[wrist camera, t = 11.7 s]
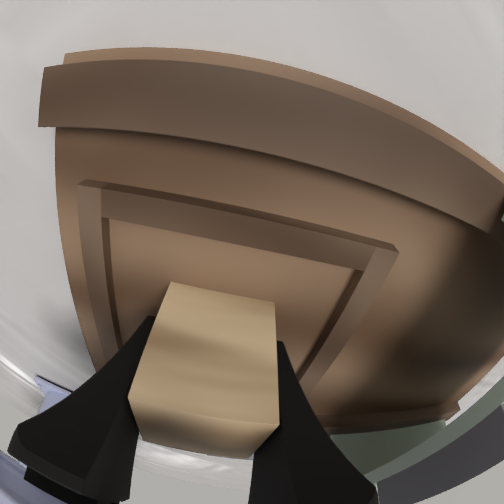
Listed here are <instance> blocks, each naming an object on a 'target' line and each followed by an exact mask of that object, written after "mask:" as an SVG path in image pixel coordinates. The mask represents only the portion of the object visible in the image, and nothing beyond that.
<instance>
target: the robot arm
mask: <svg viewBox="0 0 504 504" xmlns="http://www.w3.org/2000/svg"><path fill="white" fill-rule="evenodd" d="M155 320H156V317H155V316H151V315H149V316H147V317H146V318H145V319H144V321H143V322H142V323H141V325H140V326H139V327H138V328H137V330H136V331H135V332H134V333H133V334H132V336H131V337H130V338H129V339H128V340H127V342H126V343H125V344H124V345H123V346H122V347H121V348H120V349H119V350H118V352H117V353H116V354H115V355H114V356H113V357H112V358H111V359H110V360H109V361H108V362H107V363H106V364H105V365H104V366H103V367H102V368H101V369H100V370H99V371H98V372H96V373H95V374H94V375H93V376H92V377H91V378H90V379H89V380H87V381H86V382H85V383H84V384H83V385H81V386H80V387H79V388H78V389H76V390H75V391H74V392H72V393H71V392H69V391H67V390H64V389H62V388H60V387H58V386H56V385H54V384H51V383H49V382H47V381H45V380H43V379H41V378H39V377H37V376H35V378H34V380H35V382H36V383H37V385H38V386H39V387H40V389H41V390H42V392H43V393H44V394H45V398H44V400H43V402H42V404H41V407H40V409H39V411H38V414H37V415H36V416H34V417H32V418H30V419H28V420H26V421H24V422H22V423H20V424H18V426H17V428H16V430H15V431H14V434H13V436H12V439H11V441H10V444H9V447H8V450H7V451H8V453H9V454H10V455H11V456H13V457H14V458H16V459H17V460H18V462H17V461H16V460H15V459H13V458H11V457H10V456H8V455H7V454H5V453H4V452H3V451H1V450H0V504H119V502H120V501H121V502H122V501H125V500H127V499H129V497H130V486H131V477H132V470H133V463H134V457H135V451H136V446H137V440H138V435H139V428H138V426H137V423H136V420H135V417H134V414H133V411H132V409H131V406H130V402H129V399H128V395H129V392H130V389H131V386H132V383H133V380H134V377H135V374H136V371H137V368H138V365H139V362H140V360H141V357H142V354H143V351H144V349H145V346H146V343H147V340H148V338H149V335H150V333H151V330H152V327H153V325H154V322H155ZM276 343H277V367H278V395H279V426H278V427H277V428H276V429H275V430H274V431H273V432H272V434H271V435H270V436H269V437H268V438H267V439H266V440H265V441H264V442H263V444H262V445H261V446H260V447H259V448H258V449H257V450H256V451H255V452H254V458H253V468H252V478H251V486H250V495H249V501H248V504H379V501H378V493H377V490H376V486H375V485H374V484H372V483H371V482H370V481H369V480H368V479H367V478H366V477H365V476H364V475H362V474H361V473H360V472H359V471H358V470H357V469H356V468H355V467H354V466H353V464H352V463H351V462H350V461H349V460H348V459H347V458H346V457H345V455H344V454H343V453H342V452H341V451H340V449H339V448H338V447H337V446H336V444H335V443H334V442H333V441H332V439H331V438H330V436H329V435H328V434H327V432H326V431H325V429H324V428H323V426H322V424H321V423H320V421H319V420H318V418H317V416H316V415H315V413H314V411H313V409H312V408H311V406H310V404H309V402H308V400H307V398H306V396H305V394H304V392H303V390H302V388H301V385H300V383H299V381H298V379H297V377H296V374H295V372H294V369H293V367H292V364H291V362H290V359H289V356H288V354H287V351H286V348H285V345H284V343H283V341H277V340H276Z"/></svg>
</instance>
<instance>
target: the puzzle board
mask: <svg viewBox="0 0 504 504" xmlns="http://www.w3.org/2000/svg"><path fill="white" fill-rule="evenodd" d="M38 127H56V136H55V176H56V195H57V208H58V218H59V226H60V234H61V241H62V247H63V254H64V259H65V265H66V270H67V275H68V279H69V284H70V288H71V293H72V297H73V301H74V305H75V308H76V312H77V316H78V319H79V323H80V326H81V329H82V333H83V336H84V339H85V342H86V345H87V348H88V351H89V354H90V356H91V359H92V362H93V365H94V367H95V370H96V372H98V371H99V370H100V369H101V368H102V367H103V366H104V365H105V364H106V363H107V362H108V361H109V360H110V359H111V358H112V357H113V356H114V355H115V354H116V353H117V352H118V350H119V349H120V348H121V347H122V346H123V345H124V344H125V343H126V342H127V340H128V339H129V338H130V337H131V336H132V334H133V333H134V332H135V331H136V330H137V328H138V327H139V326H140V325H141V323H142V322H143V321H144V319H145V318H146V317H147V316H149V315H151V316H155V317H157V314H158V312H159V309H160V307H161V304H162V302H163V299H164V297H165V295H166V292H167V290H168V287H169V285H170V282H175V283H179V284H184V285H188V286H193V287H198V288H202V289H207V290H212V291H217V292H222V293H227V294H232V295H237V296H242V297H248V298H253V299H258V300H264V301H269V302H275V322H276V340H277V341H283V343H284V345H285V348H286V351H287V354H288V356H289V359H290V362H291V364H292V367H293V369H294V372H295V374H296V377H297V379H298V381H299V383H300V385H301V388H302V390H303V392H304V394H305V396H306V398H307V400H308V402H309V404H310V406H311V408H312V409H313V411H314V413H315V415H316V416H317V418H318V420H319V421H320V423H321V424H322V426H323V428H324V429H325V431H326V432H327V434H328V435H329V436H331V435H340V434H356V433H368V432H377V431H385V430H392V429H399V428H405V427H411V426H417V425H422V424H427V423H431V422H436V421H440V420H445V421H447V420H448V419H450V418H451V417H452V416H453V415H455V414H456V413H457V412H458V411H460V407H459V405H458V401H459V400H460V399H461V398H462V397H463V396H464V395H465V394H467V393H468V392H469V391H470V390H471V389H472V388H473V387H474V386H475V385H476V384H477V383H478V382H479V381H480V380H481V379H482V378H483V377H484V376H485V375H486V374H487V373H488V372H489V371H490V370H491V369H492V368H493V367H494V366H495V365H496V364H497V362H498V361H499V360H500V359H501V358H502V357H503V356H504V222H503V221H502V220H501V219H502V217H503V214H504V173H503V172H502V171H501V170H499V169H498V168H497V167H495V166H494V165H493V164H492V163H490V162H489V161H488V160H486V159H485V158H484V157H482V156H481V155H480V154H478V153H477V152H475V151H474V150H473V149H471V148H470V147H468V146H467V145H465V144H464V143H462V142H461V141H459V140H458V139H456V138H455V137H453V136H451V135H450V134H448V133H447V132H445V131H443V130H442V129H440V128H438V127H437V126H435V125H433V124H431V123H430V122H428V121H426V120H424V119H422V118H421V117H419V116H417V115H415V114H413V113H411V112H409V111H407V110H405V109H403V108H401V107H399V106H397V105H395V104H393V103H391V102H389V101H386V100H384V99H382V98H380V97H377V96H375V95H373V94H370V93H368V92H366V91H363V90H361V89H358V88H356V87H353V86H350V85H348V84H345V83H342V82H339V81H337V80H334V79H331V78H328V77H325V76H322V75H319V74H315V73H312V72H309V71H305V70H302V69H298V68H295V67H291V66H287V65H283V64H279V63H275V62H270V61H266V60H261V59H256V58H251V57H245V56H240V55H234V54H227V53H220V52H212V51H203V50H193V49H179V48H151V47H141V48H113V49H100V50H90V51H81V52H74V53H67V54H65V57H64V62H63V65H56V66H50V67H44V72H43V79H42V87H41V95H40V106H39V121H38Z"/></svg>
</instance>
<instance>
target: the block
mask: <svg viewBox="0 0 504 504" xmlns="http://www.w3.org/2000/svg"><path fill="white" fill-rule="evenodd" d="M128 399H129V402H130V406H131V409H132V411H133V414H134V417H135V420H136V423H137V426H138V428H139V431H140V434H141V436H142V439H143V441H147V442H151V443H155V444H158V445H163V446H167V447H171V448H176V449H180V450H185V451H191V452H196V453H202V454H208V455H215V456H222V457H231V458H240V459H248V458H249V457H250V456H251V455H252V454H253V453H254V452H255V451H256V450H257V449H258V448H259V447H260V446H261V445H262V444H263V442H264V441H265V440H266V439H267V438H268V437H269V436H270V435H271V434H272V432H273V431H274V430H275V429H276V428H277V427H278V426H279V395H278V367H277V343H276V322H275V302H269V301H264V300H258V299H253V298H248V297H242V296H237V295H232V294H227V293H222V292H217V291H212V290H207V289H202V288H198V287H193V286H188V285H184V284H179V283H175V282H170V285H169V287H168V290H167V292H166V295H165V297H164V299H163V302H162V304H161V307H160V309H159V312H158V314H157V317H156V320H155V322H154V325H153V327H152V330H151V333H150V335H149V338H148V340H147V343H146V346H145V349H144V351H143V354H142V357H141V360H140V362H139V365H138V368H137V371H136V374H135V377H134V380H133V383H132V386H131V389H130V392H129V395H128Z"/></svg>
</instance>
